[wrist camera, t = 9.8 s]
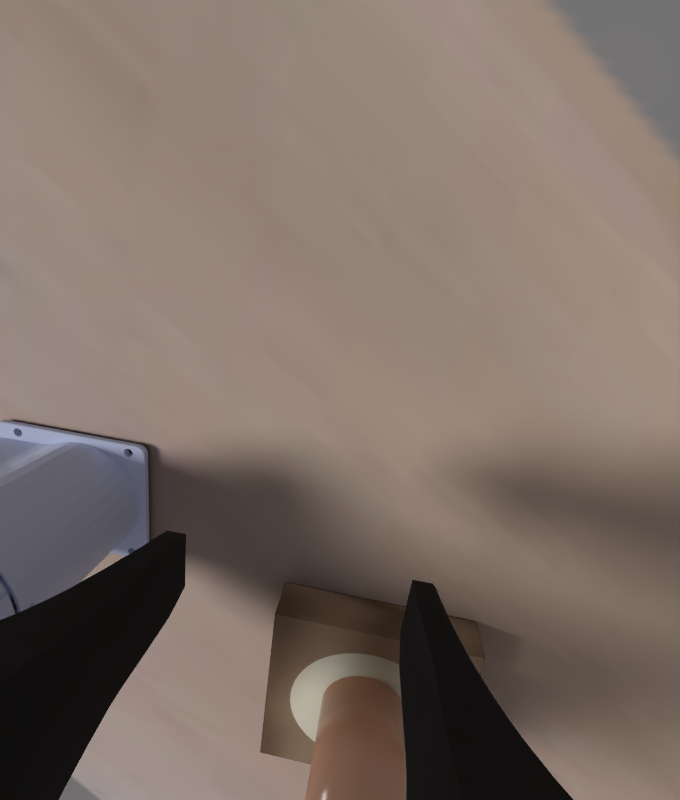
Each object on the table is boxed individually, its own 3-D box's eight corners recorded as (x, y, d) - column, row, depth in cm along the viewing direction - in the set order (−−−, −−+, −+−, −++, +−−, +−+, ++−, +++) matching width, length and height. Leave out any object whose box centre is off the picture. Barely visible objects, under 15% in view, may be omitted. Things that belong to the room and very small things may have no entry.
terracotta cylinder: (319, 726, 25) (297, 857, 20) (325, 669, 24) (304, 792, 18) (397, 743, 25) (398, 881, 19) (410, 685, 23) (414, 818, 18)
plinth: (271, 713, 29) (260, 752, 27) (285, 582, 26) (274, 614, 23) (435, 751, 28) (439, 796, 26) (476, 621, 25) (485, 659, 22)
